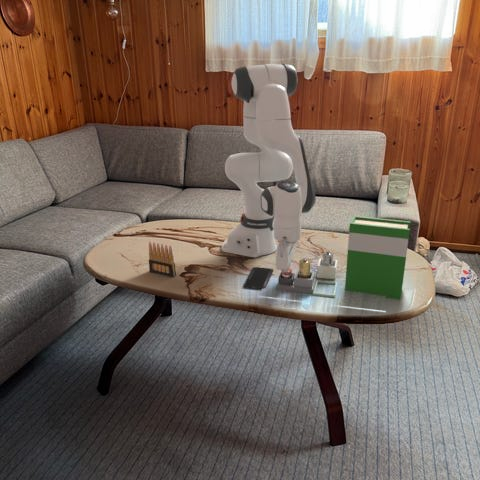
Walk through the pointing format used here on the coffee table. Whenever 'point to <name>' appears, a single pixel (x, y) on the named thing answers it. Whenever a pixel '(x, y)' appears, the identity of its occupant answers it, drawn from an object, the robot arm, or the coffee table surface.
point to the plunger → (286, 274)
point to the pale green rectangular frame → (324, 293)
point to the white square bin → (327, 270)
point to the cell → (304, 268)
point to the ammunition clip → (161, 260)
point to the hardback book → (377, 256)
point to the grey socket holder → (297, 283)
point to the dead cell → (327, 259)
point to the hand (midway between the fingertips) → (286, 270)
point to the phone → (258, 278)
